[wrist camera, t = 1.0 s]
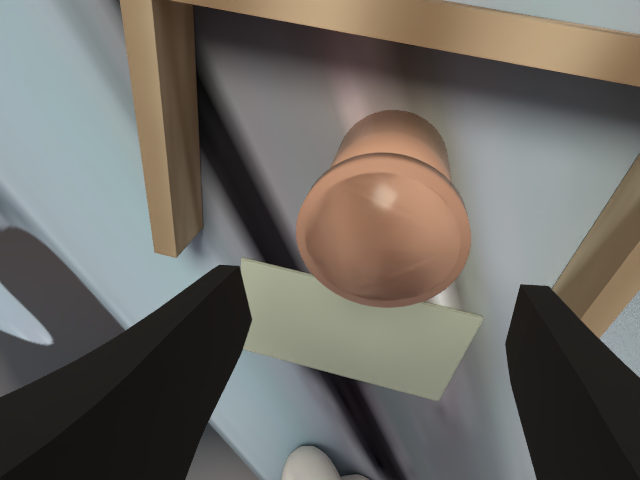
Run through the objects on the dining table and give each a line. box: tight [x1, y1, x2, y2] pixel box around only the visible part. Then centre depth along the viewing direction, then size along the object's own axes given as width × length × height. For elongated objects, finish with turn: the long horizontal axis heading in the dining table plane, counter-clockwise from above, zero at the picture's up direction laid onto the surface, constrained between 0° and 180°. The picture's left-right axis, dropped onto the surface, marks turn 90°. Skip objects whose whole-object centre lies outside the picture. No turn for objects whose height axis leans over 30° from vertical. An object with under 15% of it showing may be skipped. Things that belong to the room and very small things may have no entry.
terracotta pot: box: [296, 110, 471, 308], centre depth 15 cm, size 6×6×6 cm
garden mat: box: [241, 258, 483, 401], centre depth 25 cm, size 14×8×1 cm, turn 82°
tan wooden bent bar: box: [120, 0, 640, 338], centre depth 17 cm, size 21×13×3 cm, turn 82°
